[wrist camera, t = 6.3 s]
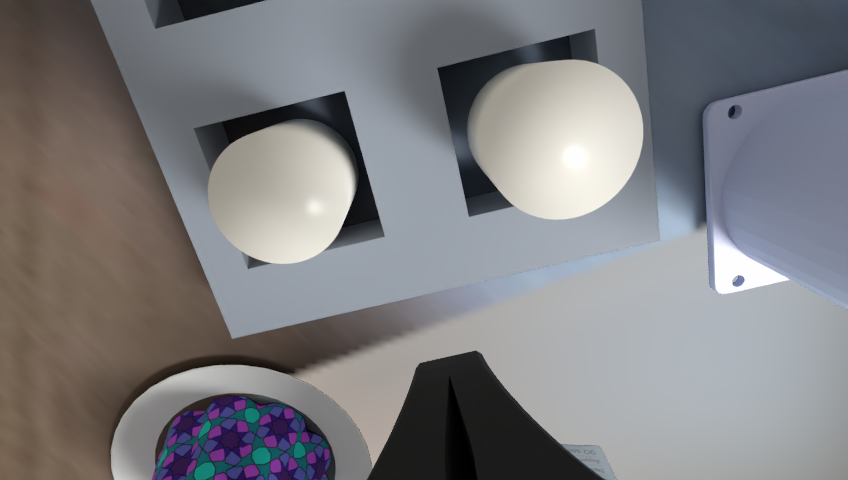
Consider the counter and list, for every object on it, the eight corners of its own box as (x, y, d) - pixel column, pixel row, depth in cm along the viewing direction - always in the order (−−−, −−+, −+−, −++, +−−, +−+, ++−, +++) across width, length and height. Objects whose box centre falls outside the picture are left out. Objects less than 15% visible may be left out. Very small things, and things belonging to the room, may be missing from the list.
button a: (578, 50, 15) (636, 41, 11) (593, 171, 17) (649, 200, 13) (455, 80, 15) (472, 82, 12) (479, 198, 17) (501, 234, 13)
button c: (341, 106, 17) (323, 116, 13) (371, 212, 18) (361, 247, 15) (233, 133, 17) (186, 149, 14) (270, 235, 19) (236, 277, 15)
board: (572, -365, 14) (607, -457, 11) (629, 220, 20) (659, 240, 17) (46, -217, 14) (-25, -275, 12) (252, 307, 20) (232, 338, 18)
